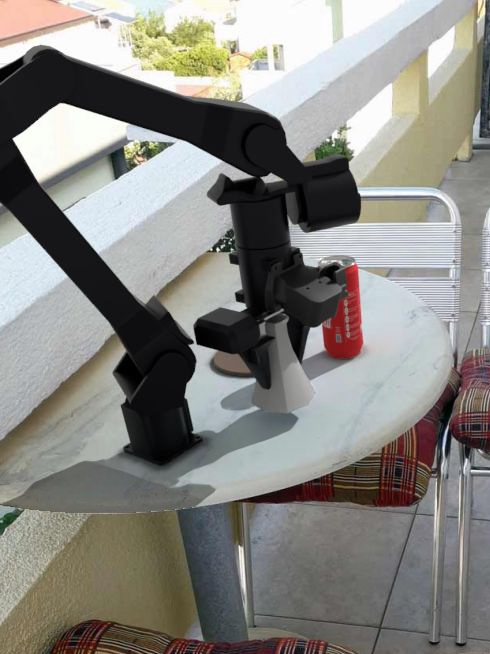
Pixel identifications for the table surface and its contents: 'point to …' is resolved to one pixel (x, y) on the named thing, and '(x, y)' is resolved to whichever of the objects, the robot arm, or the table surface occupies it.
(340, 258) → the beverage can
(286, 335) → the flask
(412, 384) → the table surface
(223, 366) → the coaster
